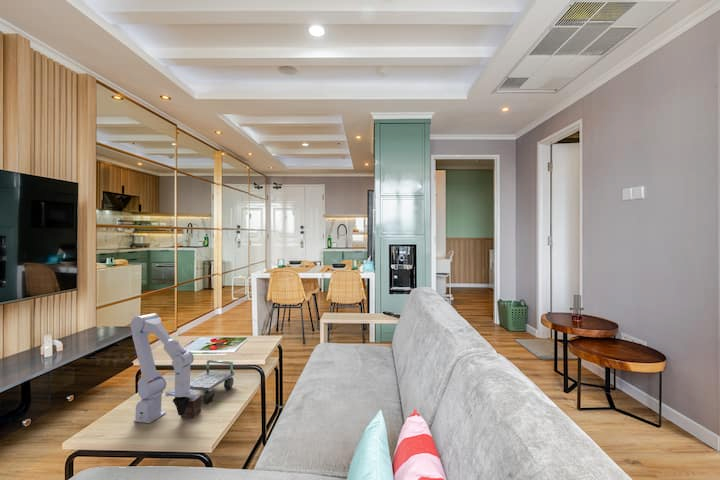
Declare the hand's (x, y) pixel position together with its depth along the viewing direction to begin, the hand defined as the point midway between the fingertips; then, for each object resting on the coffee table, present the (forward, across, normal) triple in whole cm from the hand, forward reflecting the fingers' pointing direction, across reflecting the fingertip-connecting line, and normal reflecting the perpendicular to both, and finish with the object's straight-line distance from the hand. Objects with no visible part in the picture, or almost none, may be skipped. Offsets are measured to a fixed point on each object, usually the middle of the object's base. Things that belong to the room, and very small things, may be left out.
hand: (181, 414), depth 145 cm
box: (+3, 0, -6) cm, 7 cm away
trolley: (+3, +7, -27) cm, 28 cm away
